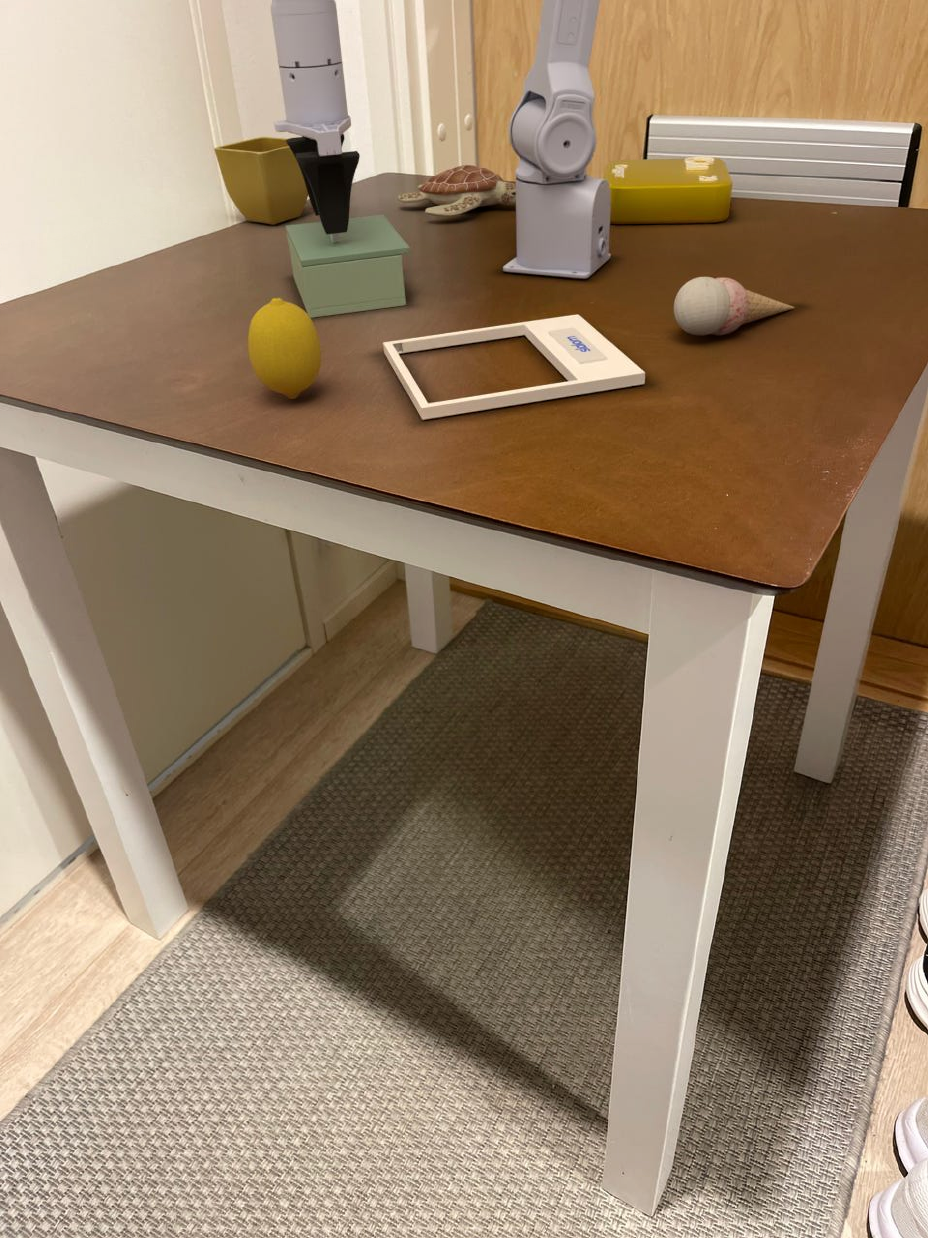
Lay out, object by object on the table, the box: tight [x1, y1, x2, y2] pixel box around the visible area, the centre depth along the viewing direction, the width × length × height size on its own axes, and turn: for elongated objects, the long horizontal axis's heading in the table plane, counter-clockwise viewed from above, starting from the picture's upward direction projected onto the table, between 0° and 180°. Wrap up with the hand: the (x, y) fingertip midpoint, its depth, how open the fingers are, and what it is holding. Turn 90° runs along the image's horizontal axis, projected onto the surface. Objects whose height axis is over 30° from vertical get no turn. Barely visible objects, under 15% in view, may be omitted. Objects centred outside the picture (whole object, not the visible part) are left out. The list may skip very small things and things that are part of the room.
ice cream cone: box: [673, 276, 796, 336], centre depth 82 cm, size 5×5×15 cm
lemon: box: [247, 297, 322, 400], centre depth 73 cm, size 6×6×8 cm
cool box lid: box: [285, 214, 411, 267], centre depth 92 cm, size 10×14×5 cm
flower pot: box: [213, 136, 309, 226], centre depth 120 cm, size 9×9×9 cm
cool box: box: [286, 232, 407, 319], centre depth 95 cm, size 10×14×5 cm
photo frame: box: [382, 314, 646, 421], centre depth 77 cm, size 15×1×18 cm
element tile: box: [603, 156, 733, 225], centre depth 115 cm, size 15×15×5 cm
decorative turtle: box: [397, 164, 516, 217], centre depth 121 cm, size 18×17×5 cm
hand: (330, 222), depth 92 cm, fingers open, 7 cm apart
